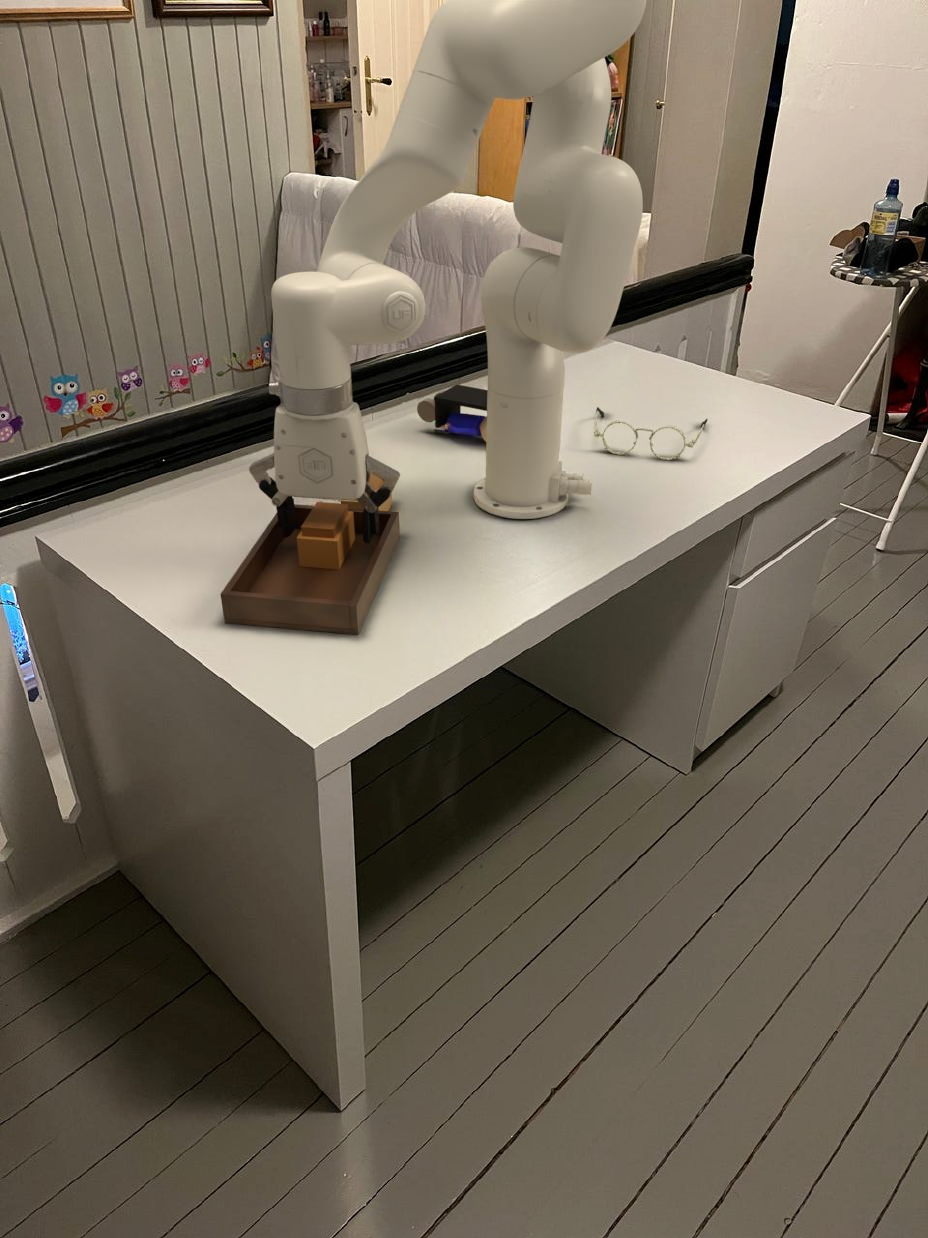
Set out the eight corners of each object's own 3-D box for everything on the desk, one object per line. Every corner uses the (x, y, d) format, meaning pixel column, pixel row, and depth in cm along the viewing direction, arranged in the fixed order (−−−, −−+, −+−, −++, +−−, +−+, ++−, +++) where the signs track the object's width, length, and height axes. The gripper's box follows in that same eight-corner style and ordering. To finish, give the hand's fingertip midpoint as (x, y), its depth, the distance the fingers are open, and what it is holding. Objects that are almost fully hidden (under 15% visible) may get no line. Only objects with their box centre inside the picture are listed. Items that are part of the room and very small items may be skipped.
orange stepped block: (355, 539, 115) (352, 502, 112) (339, 569, 109) (336, 531, 106) (317, 536, 116) (313, 499, 113) (299, 566, 109) (295, 528, 107)
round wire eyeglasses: (583, 450, 140) (585, 418, 137) (599, 414, 152) (601, 384, 149) (700, 464, 136) (705, 431, 133) (706, 425, 148) (711, 395, 145)
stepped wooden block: (392, 504, 124) (390, 469, 122) (379, 530, 118) (377, 494, 115) (356, 501, 125) (354, 466, 122) (342, 527, 119) (339, 491, 116)
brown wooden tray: (399, 537, 117) (399, 511, 115) (358, 634, 99) (356, 605, 97) (285, 528, 118) (283, 503, 116) (224, 622, 100) (220, 594, 98)
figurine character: (417, 442, 145) (500, 454, 138) (411, 394, 142) (496, 403, 134) (442, 428, 150) (523, 439, 142) (437, 381, 146) (520, 389, 138)
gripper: (228, 402, 100) (248, 545, 109) (388, 411, 98) (395, 555, 107) (251, 379, 106) (269, 515, 115) (402, 386, 104) (407, 525, 113)
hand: (329, 534), depth 111 cm, fingers open, 9 cm apart
